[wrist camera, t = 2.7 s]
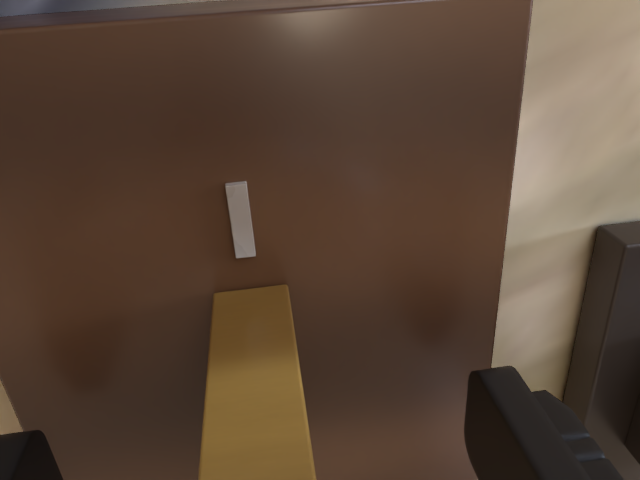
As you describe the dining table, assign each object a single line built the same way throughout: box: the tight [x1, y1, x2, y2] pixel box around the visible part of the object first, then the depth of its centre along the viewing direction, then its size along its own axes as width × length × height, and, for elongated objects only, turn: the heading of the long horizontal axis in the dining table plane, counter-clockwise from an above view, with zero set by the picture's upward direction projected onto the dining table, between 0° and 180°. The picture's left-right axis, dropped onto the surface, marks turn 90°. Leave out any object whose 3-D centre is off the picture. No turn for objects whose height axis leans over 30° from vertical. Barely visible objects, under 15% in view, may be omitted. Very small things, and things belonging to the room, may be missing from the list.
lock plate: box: [0, 0, 533, 480], centre depth 12 cm, size 14×10×3 cm
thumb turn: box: [198, 285, 316, 480], centre depth 9 cm, size 4×1×5 cm, turn 3°
